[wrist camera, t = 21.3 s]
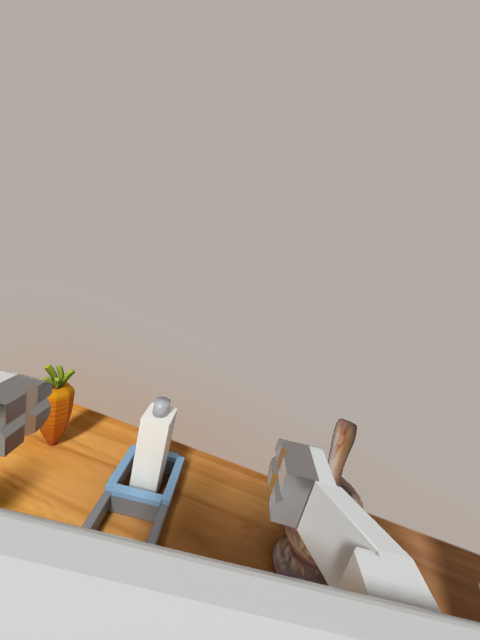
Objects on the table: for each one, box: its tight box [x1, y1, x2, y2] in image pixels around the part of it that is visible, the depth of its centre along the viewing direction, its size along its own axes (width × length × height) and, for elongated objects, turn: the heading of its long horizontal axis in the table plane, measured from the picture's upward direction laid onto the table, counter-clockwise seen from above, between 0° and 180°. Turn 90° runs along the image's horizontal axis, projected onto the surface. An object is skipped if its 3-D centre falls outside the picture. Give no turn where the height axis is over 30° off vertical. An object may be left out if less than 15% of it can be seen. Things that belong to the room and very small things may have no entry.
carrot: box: [40, 365, 75, 445], centre depth 43 cm, size 5×5×15 cm
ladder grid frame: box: [82, 444, 185, 545], centre depth 33 cm, size 9×25×4 cm, turn 177°
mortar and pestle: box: [272, 419, 364, 585], centre depth 35 cm, size 12×9×20 cm
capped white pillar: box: [129, 397, 177, 493], centre depth 39 cm, size 4×4×16 cm
